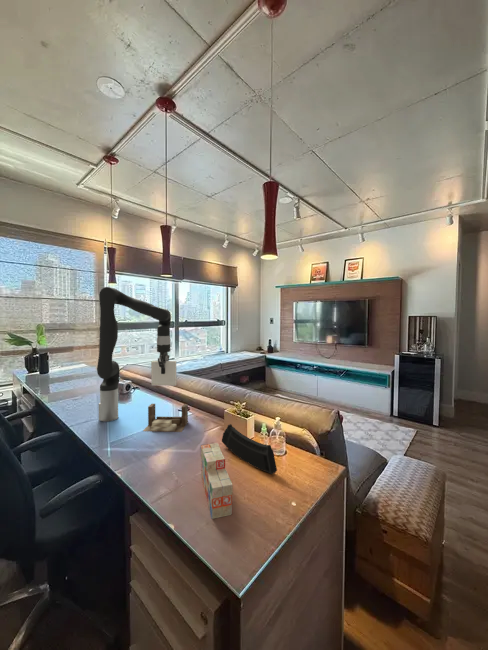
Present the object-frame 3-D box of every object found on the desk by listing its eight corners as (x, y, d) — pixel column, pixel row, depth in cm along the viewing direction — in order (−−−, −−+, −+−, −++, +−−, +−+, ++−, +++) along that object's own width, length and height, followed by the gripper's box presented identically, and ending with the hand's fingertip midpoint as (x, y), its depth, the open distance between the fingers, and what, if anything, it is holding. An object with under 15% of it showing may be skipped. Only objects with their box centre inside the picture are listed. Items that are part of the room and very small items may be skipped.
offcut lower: (150, 430, 136) (150, 426, 136) (153, 427, 140) (153, 423, 140) (174, 430, 135) (174, 427, 135) (176, 427, 139) (176, 423, 139)
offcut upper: (152, 426, 136) (151, 422, 136) (154, 423, 140) (154, 419, 140) (169, 426, 136) (169, 422, 136) (171, 424, 139) (171, 420, 139)
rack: (142, 433, 135) (142, 411, 135) (152, 422, 149) (152, 402, 149) (181, 433, 134) (181, 412, 134) (188, 422, 148) (188, 403, 148)
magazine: (282, 453, 98) (232, 409, 119) (276, 456, 96) (227, 410, 117) (272, 490, 102) (226, 441, 123) (266, 494, 100) (220, 443, 121)
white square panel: (151, 385, 155) (151, 361, 154) (152, 384, 157) (152, 360, 156) (175, 385, 154) (175, 361, 154) (176, 384, 156) (176, 360, 156)
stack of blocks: (232, 515, 79) (232, 474, 79) (211, 520, 77) (211, 478, 77) (217, 474, 100) (217, 442, 99) (201, 477, 98) (200, 444, 97)
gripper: (161, 342, 162) (161, 371, 162) (152, 344, 148) (152, 376, 148) (173, 342, 161) (173, 371, 162) (166, 344, 148) (166, 376, 148)
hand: (163, 373), depth 155 cm, fingers closed on white square panel, 2 cm apart
